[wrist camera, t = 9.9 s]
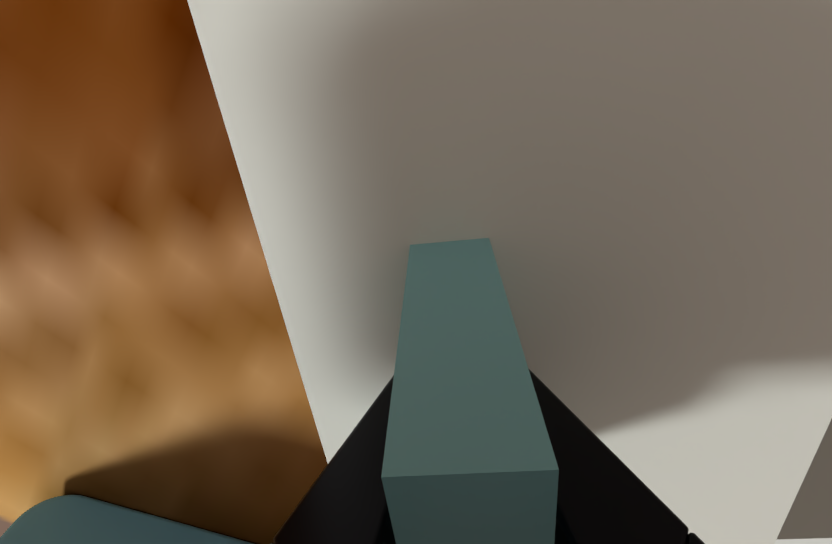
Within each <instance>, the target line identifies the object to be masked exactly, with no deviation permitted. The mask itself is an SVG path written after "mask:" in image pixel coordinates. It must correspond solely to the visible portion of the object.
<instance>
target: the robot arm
mask: <svg viewBox="0 0 832 544" xmlns="http://www.w3.org/2000/svg"><path fill="white" fill-rule="evenodd" d="M528 369H529V368H528ZM529 372H530V376H531V379H532V382H533V385H534V389H535V392H536V395H537V399H538V402H539V405H540V409H541V412H542V415H543V419H544V422H545V425H546V429H547V432H548V435H549V439H550V442H551V445H552V448H553V452H554V455H555V458H556V462H557V465H558V468H559V476H558V493H557V509H556V525H555V541H554V544H705V543H704V542H703V541H702V540H701V539H700V538H699V537H698V536H697V535H696V534H695V533H689V534H688V530H689V529H688V527H687V526H686V525H685V524H684V523H683V522H682V521H681V520H680V519H679V518H678V517H677V516H676V515H675V514H674V513H673V512H672V511H671V510H670V509H669V508H668V507H667V506H666V505H665V504H664V503H663V502H662V501H661V500H660V499H659V498H658V497H657V496H656V495H655V494H654V493H653V492H652V491H651V490H650V489H649V488H648V487H647V486H646V485H645V484H644V483H643V482H642V481H641V480H640V479H639V478H638V477H637V476H636V475H635V474H634V473H633V472H632V471H631V470H630V469H629V468H628V467H627V466H626V465H625V464H624V463H623V462H622V461H621V460H620V459H619V458H618V457H617V456H616V455H615V454H614V453H613V452H612V451H611V450H610V449H609V448H608V447H607V446H606V445H605V444H604V443H603V442H602V441H601V440H600V439H599V438H598V437H597V436H596V435H595V434H594V433H593V432H592V431H591V430H590V429H589V428H588V427H587V426H586V425H585V424H584V423H583V422H582V421H581V420H580V419H579V418H578V417H577V416H576V415H575V414H574V413H573V412H572V411H571V410H570V409H569V408H568V407H567V406H566V405H565V404H564V403H563V402H562V401H561V400H560V399H559V398H558V397H557V396H556V395H555V394H554V393H553V392H552V391H551V390H550V389H549V388H548V387H547V386H546V385H545V384H544V383H543V382H542V381H541V380H540V379H539V378H538V377H537V376H536V375H535V374H534V373H533V372H532V371H531V370H530V369H529ZM393 378H394V375H393V377H392V378H391V379H390V381H389V382H388V383H387V385H386V386H385V387H384V389H383V390H382V391H381V393H380V394H379V395H378V397H377V398H376V400H375V401H374V402H373V404H372V405H371V406H370V408H369V409H368V410H367V412H366V413H365V414H364V416H363V417H362V419H361V420H360V421H359V423H358V424H357V425H356V427H355V428H354V429H353V431H352V432H351V433H350V435H349V436H348V437H347V439H346V440H345V442H344V443H343V444H342V446H341V447H340V448H339V450H338V451H337V452H336V454H335V455H334V456H333V458H332V459H331V460H330V462H329V463H328V465H327V466H326V467H325V469H324V470H323V471H322V473H321V474H320V475H319V477H318V478H317V479H316V481H315V482H314V483H313V485H312V486H311V488H310V489H309V490H308V492H307V493H306V494H305V496H304V497H303V498H302V500H301V501H300V502H299V504H298V505H297V506H296V508H295V509H294V511H293V512H292V513H291V515H290V516H289V517H288V519H287V520H286V521H285V523H284V524H283V525H282V527H281V528H280V530H279V531H278V532H277V534H276V535H275V536H274V538H273V541H274V543H269V544H396V541H395V537H394V532H393V528H392V523H391V519H390V514H389V510H388V505H387V501H386V496H385V492H384V488H383V483H382V479H381V475H382V467H383V459H384V451H385V442H386V434H387V426H388V418H389V410H390V402H391V394H392V386H393Z"/></svg>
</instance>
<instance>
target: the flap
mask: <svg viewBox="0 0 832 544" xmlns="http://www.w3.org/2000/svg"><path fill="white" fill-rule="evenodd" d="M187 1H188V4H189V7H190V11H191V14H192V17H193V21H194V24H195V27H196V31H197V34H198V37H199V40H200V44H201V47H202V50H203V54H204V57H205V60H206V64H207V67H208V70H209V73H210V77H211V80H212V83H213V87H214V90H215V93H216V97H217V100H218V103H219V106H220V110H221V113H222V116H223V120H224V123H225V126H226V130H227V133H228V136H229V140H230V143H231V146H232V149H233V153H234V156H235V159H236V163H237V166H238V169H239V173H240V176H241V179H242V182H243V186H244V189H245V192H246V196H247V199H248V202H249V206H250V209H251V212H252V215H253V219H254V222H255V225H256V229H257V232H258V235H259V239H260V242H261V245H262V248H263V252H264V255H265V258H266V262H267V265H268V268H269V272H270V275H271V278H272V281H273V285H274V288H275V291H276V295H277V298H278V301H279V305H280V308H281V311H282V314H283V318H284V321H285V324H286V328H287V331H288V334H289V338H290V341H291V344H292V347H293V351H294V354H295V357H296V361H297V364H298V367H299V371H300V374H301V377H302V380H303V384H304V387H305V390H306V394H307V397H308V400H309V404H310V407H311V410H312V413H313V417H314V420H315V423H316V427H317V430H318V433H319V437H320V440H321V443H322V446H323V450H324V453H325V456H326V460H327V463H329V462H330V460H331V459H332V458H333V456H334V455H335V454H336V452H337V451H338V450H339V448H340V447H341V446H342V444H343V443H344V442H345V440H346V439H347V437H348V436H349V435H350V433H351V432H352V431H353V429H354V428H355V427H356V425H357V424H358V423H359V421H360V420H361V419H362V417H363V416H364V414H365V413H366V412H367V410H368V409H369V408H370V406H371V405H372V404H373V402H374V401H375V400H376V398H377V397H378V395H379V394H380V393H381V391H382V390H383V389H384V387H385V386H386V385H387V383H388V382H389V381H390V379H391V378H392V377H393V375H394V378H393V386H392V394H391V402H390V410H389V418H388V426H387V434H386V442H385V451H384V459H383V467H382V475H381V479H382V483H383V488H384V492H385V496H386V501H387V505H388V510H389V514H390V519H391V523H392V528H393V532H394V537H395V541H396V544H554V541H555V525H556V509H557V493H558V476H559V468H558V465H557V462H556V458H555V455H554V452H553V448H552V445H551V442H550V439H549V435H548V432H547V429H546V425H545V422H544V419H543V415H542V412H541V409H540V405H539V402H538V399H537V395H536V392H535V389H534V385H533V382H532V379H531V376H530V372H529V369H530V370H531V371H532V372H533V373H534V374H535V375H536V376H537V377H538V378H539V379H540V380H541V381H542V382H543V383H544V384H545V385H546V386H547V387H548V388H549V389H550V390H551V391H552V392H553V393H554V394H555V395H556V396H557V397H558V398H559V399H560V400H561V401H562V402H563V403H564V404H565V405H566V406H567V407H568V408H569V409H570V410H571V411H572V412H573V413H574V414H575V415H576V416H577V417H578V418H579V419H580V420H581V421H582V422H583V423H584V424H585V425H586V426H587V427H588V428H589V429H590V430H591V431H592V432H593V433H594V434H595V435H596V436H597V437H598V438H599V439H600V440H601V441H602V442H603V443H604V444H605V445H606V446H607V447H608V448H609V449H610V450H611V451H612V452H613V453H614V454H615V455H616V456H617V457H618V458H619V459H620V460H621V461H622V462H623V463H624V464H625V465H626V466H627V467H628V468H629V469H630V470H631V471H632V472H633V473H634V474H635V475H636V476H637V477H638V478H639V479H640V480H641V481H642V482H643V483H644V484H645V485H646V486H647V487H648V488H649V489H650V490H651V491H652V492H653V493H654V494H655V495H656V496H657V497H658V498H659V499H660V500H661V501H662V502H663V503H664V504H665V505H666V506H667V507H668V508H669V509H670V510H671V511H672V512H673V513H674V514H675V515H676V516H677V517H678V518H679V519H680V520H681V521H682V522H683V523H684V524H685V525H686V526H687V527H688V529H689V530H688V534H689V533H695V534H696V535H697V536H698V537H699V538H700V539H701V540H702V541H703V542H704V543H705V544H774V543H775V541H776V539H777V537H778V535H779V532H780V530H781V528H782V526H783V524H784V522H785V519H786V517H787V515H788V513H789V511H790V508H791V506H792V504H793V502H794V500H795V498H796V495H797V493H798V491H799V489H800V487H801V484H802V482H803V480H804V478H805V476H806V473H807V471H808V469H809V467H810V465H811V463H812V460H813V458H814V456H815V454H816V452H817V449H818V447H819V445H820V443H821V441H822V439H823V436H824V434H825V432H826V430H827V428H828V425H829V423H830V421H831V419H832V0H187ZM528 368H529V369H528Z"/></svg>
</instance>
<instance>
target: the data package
mask: <svg viewBox="0 0 832 544" xmlns="http://www.w3.org/2000/svg"><path fill="white" fill-rule="evenodd" d="M0 544H254V543H250V542H247V541H243V540H239V539H236V538H232V537H229V536H225V535H222V534H218V533H214V532H211V531H207V530H204V529H200V528H197V527H193V526H189V525H186V524H182V523H179V522H175V521H172V520H168V519H164V518H161V517H157V516H154V515H150V514H147V513H143V512H139V511H136V510H132V509H129V508H125V507H122V506H118V505H114V504H111V503H107V502H104V501H100V500H97V499H93V498H89V497H86V496H81V495H63V496H58V497H54V498H51V499H48V500H45V501H43V502H41V503H39V504H37V505H35V506H33V507H32V508H30V509H29V510H27V511H26V512H25V513H23V514H22V515H21V516H20V517H19V518H18V519H17V520H16V521H15V522H14V523H13V524H12V525H11V526H10V527H9V528H8V529H7V531H6V532H5V533H4V534H3V535H2V536H1V537H0Z"/></svg>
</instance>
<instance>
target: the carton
mask: <svg viewBox="0 0 832 544" xmlns="http://www.w3.org/2000/svg"><path fill="white" fill-rule="evenodd" d="M774 544H832V419H831V421H830V423H829V425H828V428H827V430H826V432H825V434H824V436H823V439H822V441H821V443H820V445H819V447H818V449H817V452H816V454H815V456H814V458H813V460H812V463H811V465H810V467H809V469H808V471H807V473H806V476H805V478H804V480H803V482H802V484H801V487H800V489H799V491H798V493H797V495H796V498H795V500H794V502H793V504H792V506H791V508H790V511H789V513H788V515H787V517H786V519H785V522H784V524H783V526H782V528H781V530H780V532H779V535H778V537H777V539H776V541H775V543H774Z"/></svg>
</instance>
